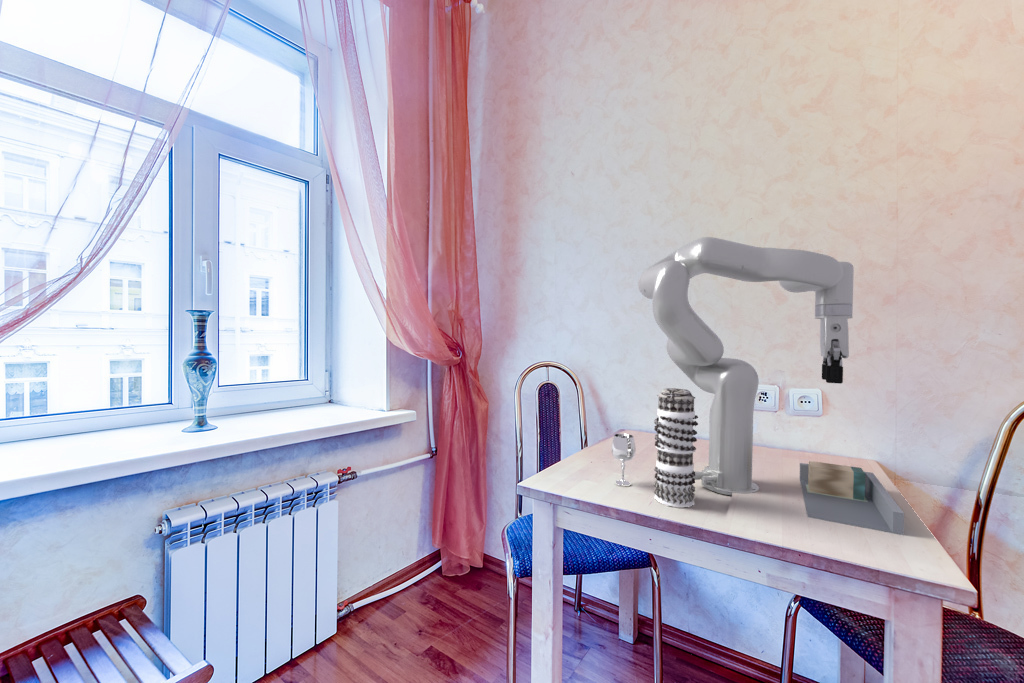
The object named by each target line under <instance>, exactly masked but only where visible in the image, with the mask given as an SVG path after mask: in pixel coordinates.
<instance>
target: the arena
mask: <svg viewBox="0 0 1024 683" xmlns="http://www.w3.org/2000/svg"><path fill="white" fill-rule="evenodd" d="M808 473H809V463H804V462H800V463H799V483H800V487H801V491H802V496H803V497H802V498H803V502H804V505H805V511H806V515H807V518H811V519H816V520H820V521H821V520H822V521H827V522H831V523H837V524H843V525H846V526H847V525H848V526H853V527H858V528H862V529H869V530H874V531H878V532H884V533H889V534H895V535H899V536H904V532H905V528H904V527H905V526H904V525H905V513H904V511H903V509H902V508H901V507H900V506H899V505H898V504H897V502H896V501H895V499H893V497H892V496H891V494H890V493H889V492H888V490H887V489H886V488H885V487H884V485H883V484H882V483H881V481H880V480H879V479H878V478H877V476H876V475H875V474H874V472H868V471H864V473H865V499H864V500H858V499H852V498H846V497H840V496H834V495H828V494H822V493H815V492H810V491H809V487H808Z"/></svg>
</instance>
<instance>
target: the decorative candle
mask: <svg viewBox="0 0 1024 683" xmlns="http://www.w3.org/2000/svg"><path fill="white" fill-rule="evenodd" d="M656 396H657V397H658V406H657V415H656V416H658V417H656V418H655V419H654V424H655V425H654V431H655V432H656V434H655V435H654V440H655V441H654V447H655V449H657V453H656V454H657V458H656V463H655V464H656V466H655V467H654V471H655V474H654V478H655V481H654V483H653V486H654V487H655V488H654V491H653V493H654V500H655V499H656V500H657V501H658V502H660V503H662V504H665V505H664V506H666V505H668V506H667V507H669V506H674V507H673V508H675V507H688V506H692V505H693V504H694V505H695V500H694V499H695V498H696V495H695V492H696V487H695V485H694V484H695V483H696V480H695V479H694V478H693V477H694V476H695V472H696V471H694V453H696V450H697V448H696V446H694V445H693V444H694V443H695V442H697V441H698V439H697V438H696V437H695V435H697V434H698V431H697V430H695V429H694V427H696V426H698V425H699V423H698V421H697V419H698V418H699V416H698V415H696V410H695V399H696V397H695V396H694V395H693V393H692V392H691V391H690V390H688V389H684V388H675V387H674V388H671V387H670V388H663V389H662V390H661V392H660V393H659V394H657V395H656ZM656 500H655V501H656ZM657 501H656V502H657ZM658 502H657V503H658ZM660 503H659V504H660ZM662 504H661V505H662ZM694 505H693V506H694ZM693 506H692V507H693ZM688 508H689V507H688Z"/></svg>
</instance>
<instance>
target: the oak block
mask: <svg viewBox="0 0 1024 683" xmlns="http://www.w3.org/2000/svg"><path fill="white" fill-rule="evenodd" d="M808 464H809V473H808V487H809V491H810V492H815V493H822V494H828V495H834V496H840V497H846V498H852V499H858V500H864V499H865V473H864V472H865V471H864V470H863V468H862V467H857V466H849V465H843V464H836V463H827V462H821V461H820V462H819V461H812V460H808Z"/></svg>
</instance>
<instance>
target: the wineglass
mask: <svg viewBox="0 0 1024 683" xmlns="http://www.w3.org/2000/svg"><path fill="white" fill-rule="evenodd" d="M611 454H612V456H613V458H614V459H615V460H617V461H620V463H621V464H620V467H621V478H620V480H619V479H618V480H619V481H617V480H615V481H616V483H617V484H618V485H629V484H630V483H629V482H630V481H628V480H625V468H626V463H627V462H630V461H632V460H633V458H634V457H635V456H636V443H635V438H634V436H633V435H632V434H627V433H615V434H614V435H613V437H612V442H611ZM625 462H626V463H625Z"/></svg>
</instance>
